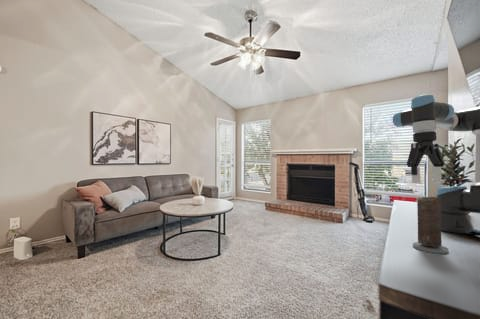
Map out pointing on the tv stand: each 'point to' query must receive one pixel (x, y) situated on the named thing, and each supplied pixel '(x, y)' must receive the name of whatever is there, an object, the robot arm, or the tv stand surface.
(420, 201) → the candle
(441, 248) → the coaster
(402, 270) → the tv stand surface
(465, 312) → the tv stand surface
